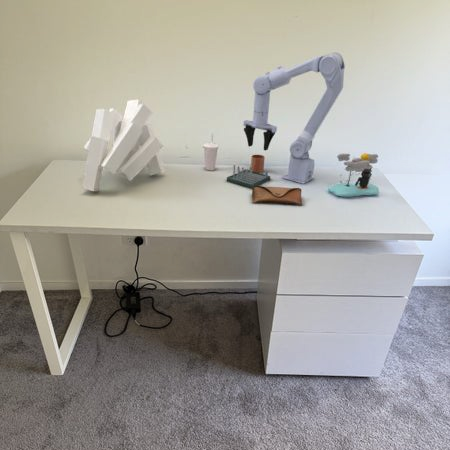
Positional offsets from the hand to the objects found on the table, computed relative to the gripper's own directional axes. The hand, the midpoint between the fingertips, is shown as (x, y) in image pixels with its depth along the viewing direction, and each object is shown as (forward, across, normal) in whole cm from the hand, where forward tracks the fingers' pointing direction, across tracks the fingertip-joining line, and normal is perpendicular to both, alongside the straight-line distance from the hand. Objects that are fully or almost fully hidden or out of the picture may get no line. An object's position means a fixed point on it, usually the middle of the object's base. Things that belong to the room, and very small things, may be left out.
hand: (257, 147), depth 156 cm
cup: (+9, 0, 0) cm, 9 cm away
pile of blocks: (+10, -31, -44) cm, 55 cm away
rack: (+9, +4, -12) cm, 16 cm away
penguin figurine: (+10, +41, +5) cm, 43 cm away
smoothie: (+10, -16, -11) cm, 22 cm away
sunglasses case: (+10, +24, -21) cm, 33 cm away
